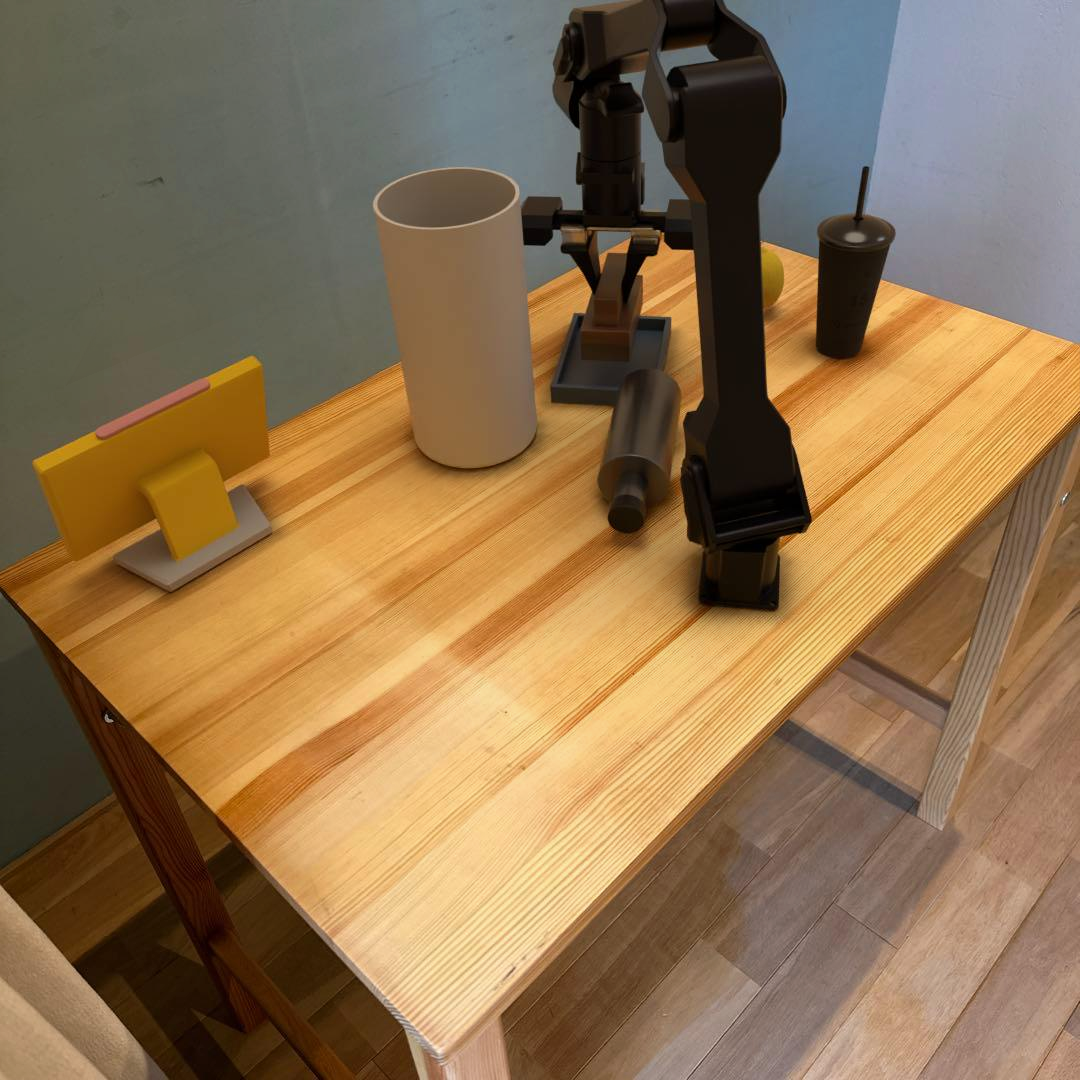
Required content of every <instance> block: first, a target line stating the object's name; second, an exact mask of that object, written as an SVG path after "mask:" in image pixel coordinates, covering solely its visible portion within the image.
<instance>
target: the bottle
mask: <svg viewBox="0 0 1080 1080" xmlns="http://www.w3.org/2000/svg"><path fill="white" fill-rule="evenodd" d="M682 399H683V395H682V390H681V387H680V385H679V383H678V382H677V381H676V380H675V378H674V377H673V376H672V375H670V374H668V373H667V372H665V371H664V372H663V371H660V370H657V369H640V370H636V371H633V372H632V373H630V374H628V375H627V376H626V377H625V378H624V379H623V380H622V381H621V383H620V385H619V387H618V392H617V396H616V400H615V405H614V406H613V409H612V412H611V418H610V422H609V426H608V431H607V435H606V439H605V444H604V447H603V452H602V456H601V461H600V465H599V468H598V469H599V470H598V473H597V481H596V482H597V486H598V489H599V491H600V493H601V495H602V497H604V498H605V499H606V500H607V502H609V507H608V512H607V517H606V520H607V523H608V525H609V526H610V528H612V529H613V530H614V531H616V532H618V533H619V534H626V535H629V534H635V533H637V532H639V531H640V530H641V529H642V528H643V527H644V524H645V520H646V513H647V510H649V509H651V508H654V507H655V506H657V505H659V504H660V503H661V502H662V501H663V500H664V499H665V497H666V496H667V495H668V491H669V485H670V480H671V474H672V473H671V472H672V467H673V459H674V454H675V453H674V452H675V445H676V440H677V439H676V438H677V434H678V433H677V432H678V425H679V419H680V412H681V406H682Z"/></svg>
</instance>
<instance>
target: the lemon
mask: <svg viewBox="0 0 1080 1080" xmlns="http://www.w3.org/2000/svg"><path fill="white" fill-rule="evenodd" d="M761 258H762V281H763V304H764V310H766V309H769V308H770V307H772V306H773V305H774V304H776V302H777V301H778V300H779V299H780V296H781V295H782V292H783V290H784V286H785V271H784V265H783V262H782V260H781V259H780V256H778V254H777V253H775V251H772V250H771V249H768V248H767V247H765V246H761Z"/></svg>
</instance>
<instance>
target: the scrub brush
mask: <svg viewBox="0 0 1080 1080" xmlns="http://www.w3.org/2000/svg"><path fill="white" fill-rule="evenodd" d="M626 258H627V252H607V253H606V256H605V260H604V263H603V267H602V270H601V276H600V280H599V283H598V286H597V290H596V293H595V296H594V294H593V292H592V291H591V293H590V297H589V299H588V304H587V306H586V310H585V312H584V313H585V316H584V319H583V323H582V326H581V329H580V338H581V360H596V361H617V362H630V358H631V354H632V349H633V345H634V340H635V336H636V331H637V327H638V323H639V318H640V316H641V313H642V308H643V305H644V275H643V274H637V276H636V278H635V281H634V284H633V287H632V290H631V293H630V296H629V298H628V301H627V303H624V302H623V284H624V276H625V267H626Z"/></svg>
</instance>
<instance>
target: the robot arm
mask: <svg viewBox="0 0 1080 1080" xmlns="http://www.w3.org/2000/svg"><path fill="white" fill-rule="evenodd" d="M705 46H706V47H707V49H708V52H709V53H710V54H711V55H712V56H713V57H714V58H715V59H716V60H710V61H709V60H708V61H704V62H703V61H702V62H696V63H689V64H684V65H683V64H682V65H677V66H676V65H675V66H673V67H672V68H671V69H669V71H668V74H667V75H666V74H665V71H664V69H663V66H662V63H661V61H660V58H661V53H663V52H671V51H677V50H678V51H679V50H685V49H691V48H697V47H698V48H699V47H705ZM552 67H553V72H554V79H553V83H552V85H551V86H552V87H551V89H552V90H551V92H552V97H553V98H554V102H555V104H556V105H557V107H558V108H559V109H560V110H561V111H562V113H563V114H564V115H565V116H566V118H567V119H568V120H569V121H570V122H571V124H572V125H573V127H575V128H576V129H577V130H579V144H580V145H579V146H580V148H579V149H580V151H577V153H576V161H575V162H576V164H575V184H576V185H577V186H581V207H582V208H581V209H564V206H563V200H562V197H561V196H540V195H539V196H536V195H535V196H532V195H528V196H527V197H526V198H525V199H524V200H523V201H522V203H521V218H522V231H523V244H524V246H530V247H532V246H534V247H546V246H547V245H548V244H549V243H550V241H552V240H553V238H554V231H560V235H561V244H560V247H559V249H560V253H561V254H564V255H569V256H570V258H571V259H572V261H573V262H574V263H575V265H576V266H577V267H578V268H579V270H580V272H581V274H582V275H583V277H584V278H585V281H586V282H587V284H588V286H589V288H590V290H591V293H592V292H593V294H594V296H595V293H596V290H597V286H598V283H599V280H600V276H601V273H602V270H601V262H600V254H599V247H598V232H615V233H616V232H619V233H630V240H629V244H628V246H627V251H626V253H627V258H626V267H625V276H624V284H623V302H624V303H627V301H628V298H629V296H630V293H631V290H632V287H633V284H634V281H635V278H636V276H637V275H639V272H640V270H641V268H642V267H643V265H644V262H645V260H646V259H647V258H648V257H649V258H651V257H657V256H658V254H659V250H660V244H661V240H662V236H663V243H664V244H666V246H668V248H669V249H670V250H672V251H693V259H694V260H693V261H694V271H695V272H694V273H695V276H694V277H695V287H696V288H695V289H696V290H695V291H696V305H697V317H698V319H697V320H698V330H699V331H698V332H699V333H698V334H699V345H700V359H701V360H700V361H701V374H702V375H701V376H702V390H703V394H702V395H703V396H702V398H701V399H700V402H699V403H698V405H697V406H696V407H697V408H696V409H694V410H690V411H687V412H686V413H685V416H684V419H683V421H682V429H683V437H684V448H685V449H684V458H683V459H682V461H681V467H680V468H679V469H680V477H679V483H680V489H681V495H682V501H683V512H684V515H685V519H686V538H687V540H688V541H689V542H690V543H694V544H697V545H698V546H701V548H702V549H703V550H702V557H701V558H702V559H701V565H700V566H701V567H700V577H699V586H698V596H697V598H698V599H697V600H698V603H699V604H701V605H707V606H718V607H729V608H738V609H739V608H740V609H750V610H761V611H777V610H779V607H780V581H781V580H780V579H781V578H780V577H781V556H780V555H779V550H780V544H781V543H780V542H781V538H782V537H786V536H787V537H788V536H791V535H795V534H798V535H802V534H805V533H807V531H808V530H809V528H810V526H811V524H812V522H813V517H812V514H811V509H810V503H809V501H808V498H807V493H806V489H805V484H804V480H803V476H802V472H801V466H800V464H799V459H798V454H797V451H796V448H795V446H794V444H793V441H792V440H793V439H792V431H791V427H790V425H789V424H788V422H787V421H786V419H784V417H783V415H782V414H781V413H780V412H779V410H778V408H776V406H775V405H774V403H773V402H772V401H771V399H770V398H769V393H768V379H767V356H766V355H767V354H766V331H765V329H766V328H765V309H764V304H763V281H762V258H761V247H762V239H761V237H762V236H761V215H760V211H761V210H760V195H761V193H762V190H763V189H764V186H765V185H766V183H767V182H768V179H769V177H770V175H771V173H772V171H773V169H774V167H775V165H776V163H777V161H778V159H779V158H780V156H781V152H782V141H783V140H782V139H783V120H784V118H785V116H786V111H787V103H788V95H787V86H786V82H785V79H784V76H783V74H782V72H781V69H780V67H779V65H778V64H777V61H776V59H775V57H774V55H773V53H772V50H771V48H770V46H769V44H768V41H767V39H766V38H765V36H764V35H763V34H762V33H761V32H759V31H758V30H757V29H755V28H754V27H752V26H751V25H750V24H749V23H748V22H745V21H744V20H743V19H742V18H740V17H739V16H738V15H737V14H735V13H734V12H732V11H731V10H729V9H728V8H727V5H726V4H725V1H724V0H624V1H617V2H609V3H601V4H595V5H587V6H581V7H579V6H578V7H574V8H572V10H571V11H570V12H569V14H568V23H565V24H564V25H563V28H562V31H561V37H560V39H559V41H558V45H557V48H556V50H555V55H554V56H553V61H552ZM641 72H644V78H643V83H642V89H641V94H640V93H639V92H638V91H637V90H636V89H635V88H634V86H633V83H632V82H631V81H628V82H627V81H626V82H625V81H623V80H621V75H628V74H635V73H641ZM645 109H646V111H647V114H648V117H649V119H650V122H651V124H652V127H653V129H654V132H655V134H656V137H657V138H658V141H659V142H660V143H661V147H662V155H663V161H664V165H665V167H666V169H667V170H668V172H669V173H670V175H671V176H672V177H673V179H674V180H675V181H676V183H677V185H678V186H679V187H680V189H681V190H682V192H683V193H684V194H685V196H686V197H687V199H686V198H685V199H684V198H683V199H681V198H669V200H668V205H667V208H666V211H663V210H661V209H642V206H643V205H644V204H645V200H646V177H645V172H646V171H645V170H646V162H645V161H642V114H643V113H644V112H645Z"/></svg>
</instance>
